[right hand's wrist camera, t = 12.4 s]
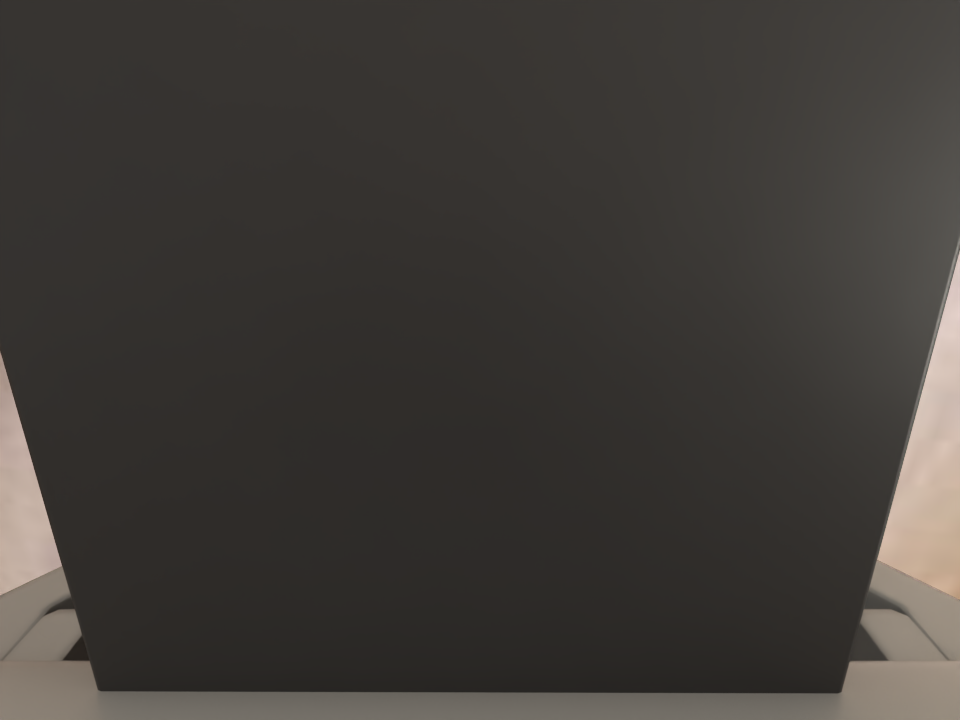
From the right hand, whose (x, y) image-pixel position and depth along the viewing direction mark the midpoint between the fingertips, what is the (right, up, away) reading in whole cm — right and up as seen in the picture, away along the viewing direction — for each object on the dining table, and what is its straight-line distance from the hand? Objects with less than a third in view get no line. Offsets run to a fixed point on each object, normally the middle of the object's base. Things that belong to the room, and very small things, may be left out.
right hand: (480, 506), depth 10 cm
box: (0, +9, +4) cm, 10 cm away
